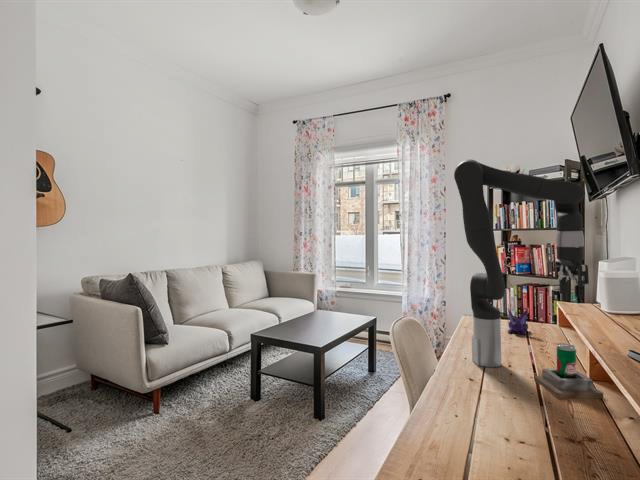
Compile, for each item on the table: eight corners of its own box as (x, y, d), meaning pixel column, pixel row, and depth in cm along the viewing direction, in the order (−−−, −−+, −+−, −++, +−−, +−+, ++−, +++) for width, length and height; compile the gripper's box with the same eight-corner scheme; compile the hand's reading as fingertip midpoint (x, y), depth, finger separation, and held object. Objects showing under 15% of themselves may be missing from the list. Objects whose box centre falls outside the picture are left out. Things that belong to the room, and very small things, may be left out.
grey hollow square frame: (556, 398, 109) (556, 382, 109) (534, 380, 122) (534, 366, 122) (603, 398, 108) (603, 382, 108) (575, 380, 121) (575, 366, 121)
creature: (504, 336, 173) (504, 309, 172) (509, 327, 188) (509, 303, 188) (526, 339, 168) (526, 311, 168) (530, 329, 183) (529, 304, 183)
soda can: (567, 388, 112) (567, 348, 112) (552, 381, 117) (552, 343, 116) (580, 386, 113) (580, 346, 113) (565, 379, 118) (565, 342, 118)
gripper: (546, 244, 129) (547, 291, 129) (571, 246, 115) (572, 299, 115) (569, 243, 128) (570, 291, 129) (596, 245, 114) (597, 298, 114)
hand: (571, 294), depth 122 cm, fingers open, 8 cm apart
